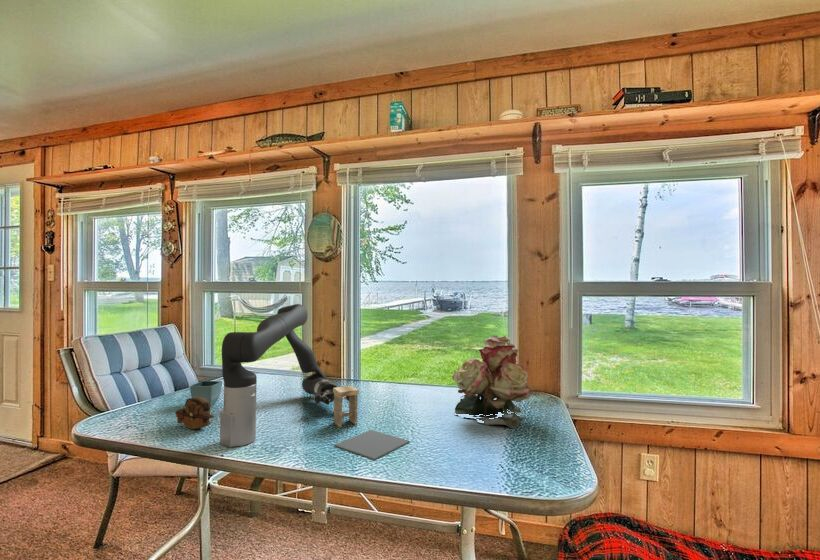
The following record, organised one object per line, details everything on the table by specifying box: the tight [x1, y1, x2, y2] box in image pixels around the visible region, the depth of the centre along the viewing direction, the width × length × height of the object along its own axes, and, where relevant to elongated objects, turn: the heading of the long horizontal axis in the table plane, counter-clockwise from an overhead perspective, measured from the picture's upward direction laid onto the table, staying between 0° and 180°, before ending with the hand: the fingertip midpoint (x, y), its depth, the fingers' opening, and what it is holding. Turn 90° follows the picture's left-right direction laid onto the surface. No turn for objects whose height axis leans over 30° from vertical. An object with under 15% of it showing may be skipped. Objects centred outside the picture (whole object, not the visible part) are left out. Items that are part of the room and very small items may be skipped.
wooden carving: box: [175, 397, 215, 430], centre depth 130 cm, size 16×5×10 cm, turn 70°
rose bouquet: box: [451, 334, 532, 429], centre depth 144 cm, size 26×29×30 cm
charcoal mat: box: [334, 429, 411, 461], centre depth 117 cm, size 16×16×1 cm
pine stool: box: [333, 385, 360, 429], centre depth 135 cm, size 7×7×12 cm
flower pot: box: [189, 380, 223, 407], centre depth 156 cm, size 9×9×9 cm
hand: (339, 400), depth 141 cm, fingers open, 8 cm apart
